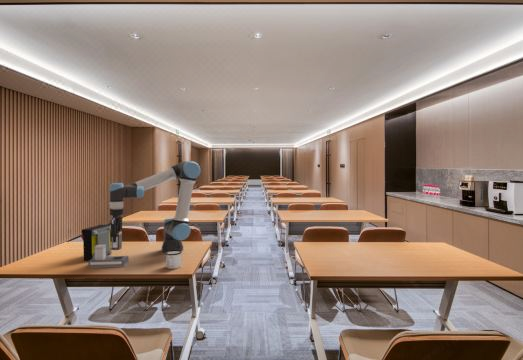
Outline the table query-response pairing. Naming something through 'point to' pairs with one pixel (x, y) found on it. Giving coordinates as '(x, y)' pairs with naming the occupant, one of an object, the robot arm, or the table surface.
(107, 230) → the electrical component
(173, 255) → the mug
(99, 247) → the white rectangular block
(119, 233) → the plug
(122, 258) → the pdu strip
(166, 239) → the robot arm
